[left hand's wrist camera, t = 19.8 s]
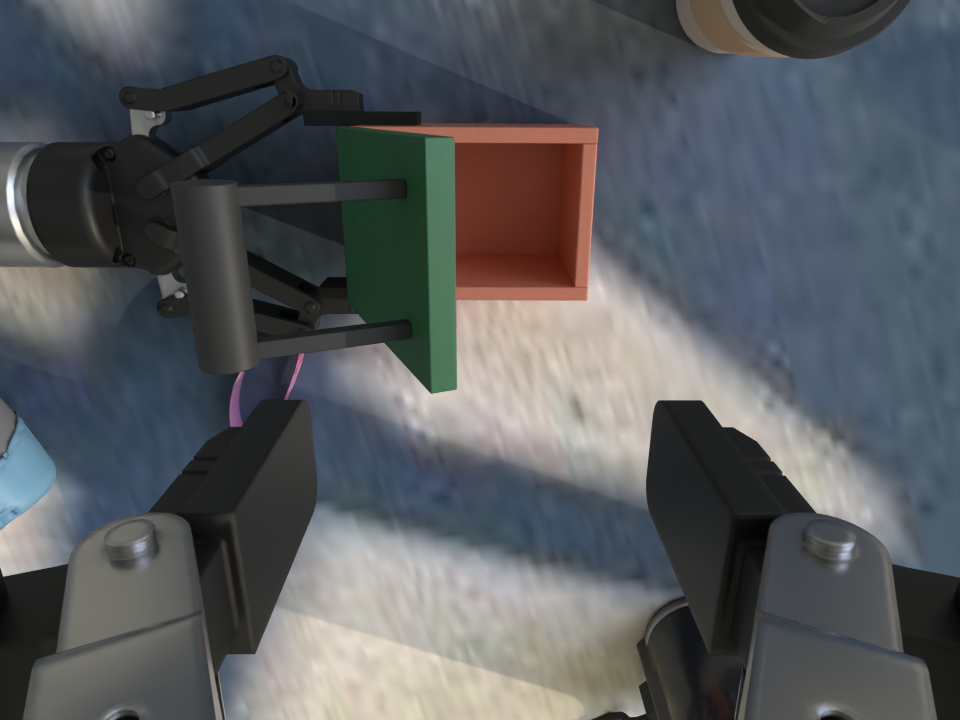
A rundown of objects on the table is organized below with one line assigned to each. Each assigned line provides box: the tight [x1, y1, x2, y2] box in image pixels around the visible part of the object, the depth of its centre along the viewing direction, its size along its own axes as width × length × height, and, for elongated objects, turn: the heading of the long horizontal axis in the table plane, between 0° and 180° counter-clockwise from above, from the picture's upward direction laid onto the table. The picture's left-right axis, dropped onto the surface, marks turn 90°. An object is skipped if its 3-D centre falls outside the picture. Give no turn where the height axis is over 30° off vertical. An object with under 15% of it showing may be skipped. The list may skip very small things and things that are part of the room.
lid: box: [170, 127, 457, 394], centre depth 29 cm, size 14×10×9 cm
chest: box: [350, 123, 598, 300], centre depth 42 cm, size 13×10×10 cm
